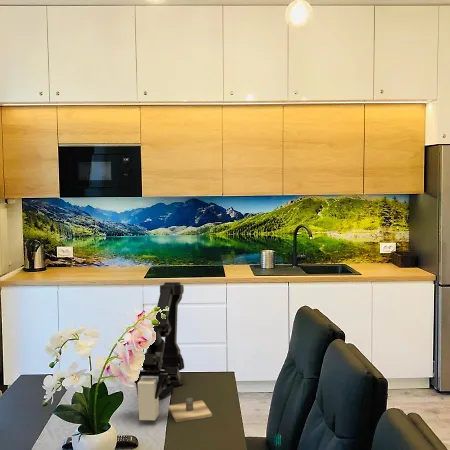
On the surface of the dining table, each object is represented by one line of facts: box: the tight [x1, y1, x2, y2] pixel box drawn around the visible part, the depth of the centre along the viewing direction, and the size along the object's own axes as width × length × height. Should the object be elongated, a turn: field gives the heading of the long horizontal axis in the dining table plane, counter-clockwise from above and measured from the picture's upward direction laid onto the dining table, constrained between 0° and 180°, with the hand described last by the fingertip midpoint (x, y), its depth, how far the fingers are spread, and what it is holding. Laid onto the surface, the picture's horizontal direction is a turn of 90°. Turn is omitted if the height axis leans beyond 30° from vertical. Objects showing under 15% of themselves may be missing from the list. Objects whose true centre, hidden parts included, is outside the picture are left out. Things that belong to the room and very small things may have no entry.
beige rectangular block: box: [137, 377, 160, 421], centre depth 176 cm, size 5×5×12 cm
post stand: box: [168, 397, 213, 423], centre depth 182 cm, size 12×12×4 cm
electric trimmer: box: [158, 386, 174, 400], centre depth 194 cm, size 4×16×3 cm, turn 143°
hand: (147, 398), depth 174 cm, fingers closed on beige rectangular block, 5 cm apart
